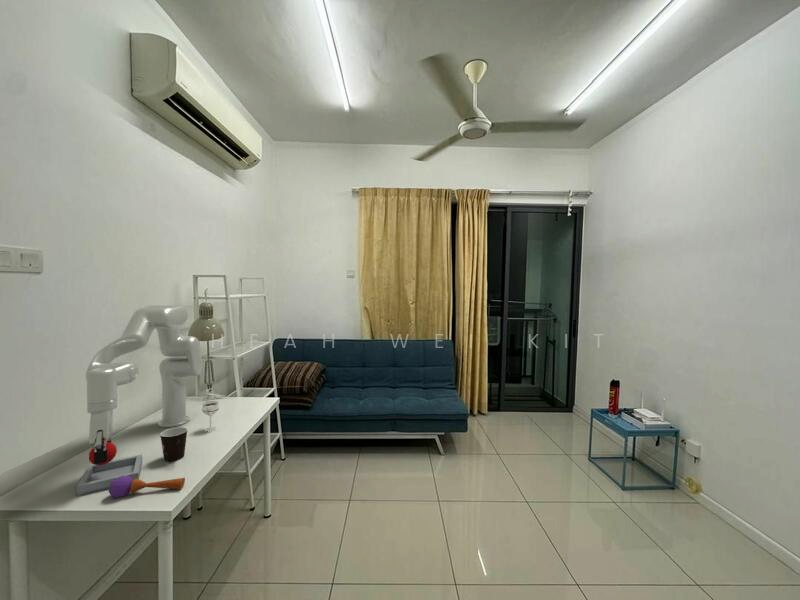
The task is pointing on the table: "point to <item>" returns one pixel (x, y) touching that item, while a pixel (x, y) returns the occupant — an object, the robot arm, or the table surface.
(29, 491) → the table surface
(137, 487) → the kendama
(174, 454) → the coffee mug
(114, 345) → the robot arm
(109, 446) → the christmas ornament
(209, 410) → the wineglass
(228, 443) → the table surface
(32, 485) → the table surface
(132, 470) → the tray
